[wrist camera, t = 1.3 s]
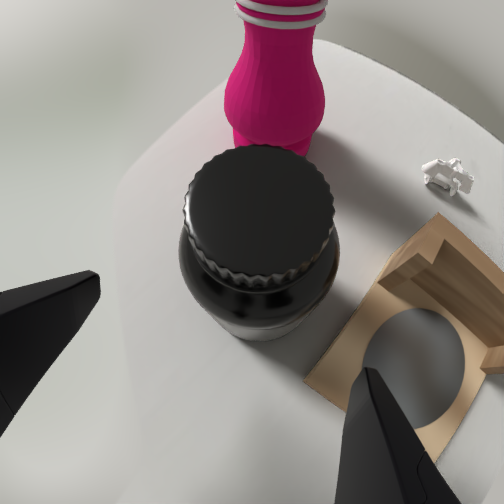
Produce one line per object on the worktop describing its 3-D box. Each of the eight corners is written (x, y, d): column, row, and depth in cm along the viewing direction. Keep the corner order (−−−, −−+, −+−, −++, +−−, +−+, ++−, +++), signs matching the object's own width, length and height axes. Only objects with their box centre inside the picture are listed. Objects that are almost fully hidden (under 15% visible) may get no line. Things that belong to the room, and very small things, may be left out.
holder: (424, 464, 16) (479, 489, 10) (302, 381, 19) (327, 391, 12) (493, 342, 19) (553, 329, 12) (391, 254, 22) (438, 212, 15)
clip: (413, 182, 24) (432, 157, 20) (414, 166, 24) (432, 140, 21) (459, 204, 23) (482, 183, 20) (460, 187, 24) (481, 165, 20)
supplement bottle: (305, 240, 22) (350, 122, 11) (313, 339, 20) (386, 309, 8) (207, 243, 22) (164, 126, 11) (206, 343, 20) (144, 318, 8)
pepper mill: (224, 113, 26) (203, -108, 7) (304, 107, 26) (335, -104, 7) (232, 180, 24) (204, -105, 5) (324, 171, 24) (396, -86, 5)
